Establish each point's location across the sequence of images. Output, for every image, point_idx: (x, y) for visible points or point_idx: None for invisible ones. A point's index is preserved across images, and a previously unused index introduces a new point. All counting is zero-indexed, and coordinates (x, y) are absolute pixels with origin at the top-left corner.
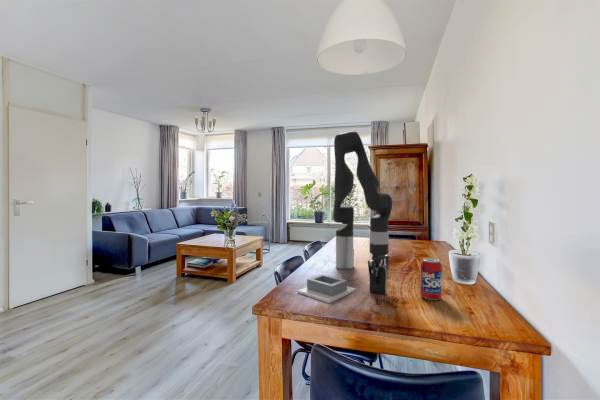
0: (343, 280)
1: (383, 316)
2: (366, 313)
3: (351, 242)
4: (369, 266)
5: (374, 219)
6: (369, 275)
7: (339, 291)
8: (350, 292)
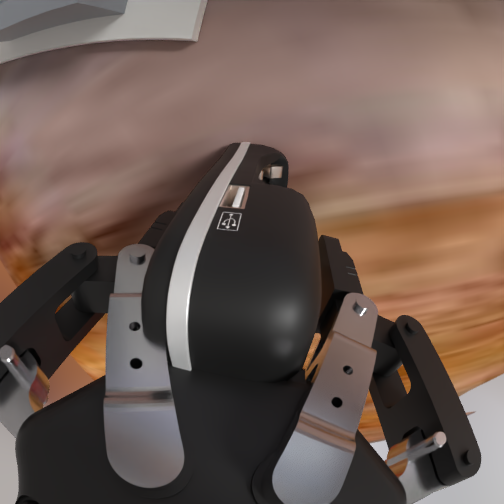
0: None
1: None
2: (12, 228)
3: None
4: (2, 321)
5: None
6: (198, 185)
7: (44, 27)
8: (131, 39)
